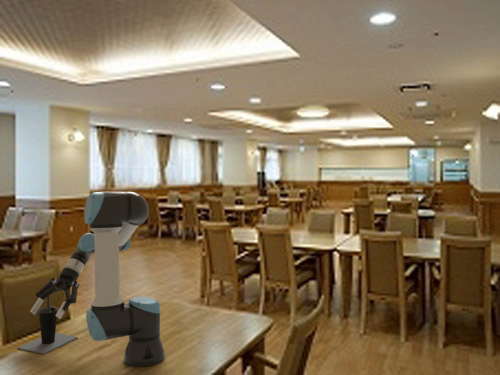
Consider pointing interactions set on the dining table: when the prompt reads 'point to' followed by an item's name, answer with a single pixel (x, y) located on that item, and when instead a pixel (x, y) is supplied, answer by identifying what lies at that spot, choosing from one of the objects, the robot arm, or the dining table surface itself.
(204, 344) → the dining table surface
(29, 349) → the placemat
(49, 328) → the drinking cup
